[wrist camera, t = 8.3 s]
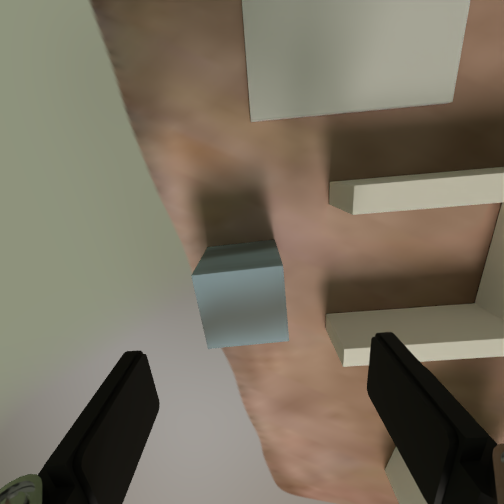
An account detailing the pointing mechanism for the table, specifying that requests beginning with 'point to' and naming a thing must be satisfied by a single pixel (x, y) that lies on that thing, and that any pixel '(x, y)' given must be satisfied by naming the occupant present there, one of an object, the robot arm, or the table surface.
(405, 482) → the corner bracket
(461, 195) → the bay
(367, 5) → the mat
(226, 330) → the block
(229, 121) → the table surface
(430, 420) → the robot arm
